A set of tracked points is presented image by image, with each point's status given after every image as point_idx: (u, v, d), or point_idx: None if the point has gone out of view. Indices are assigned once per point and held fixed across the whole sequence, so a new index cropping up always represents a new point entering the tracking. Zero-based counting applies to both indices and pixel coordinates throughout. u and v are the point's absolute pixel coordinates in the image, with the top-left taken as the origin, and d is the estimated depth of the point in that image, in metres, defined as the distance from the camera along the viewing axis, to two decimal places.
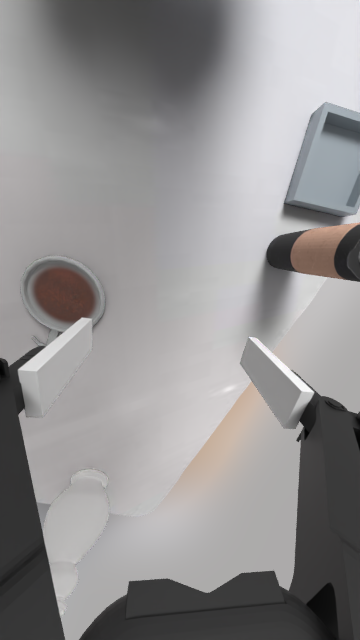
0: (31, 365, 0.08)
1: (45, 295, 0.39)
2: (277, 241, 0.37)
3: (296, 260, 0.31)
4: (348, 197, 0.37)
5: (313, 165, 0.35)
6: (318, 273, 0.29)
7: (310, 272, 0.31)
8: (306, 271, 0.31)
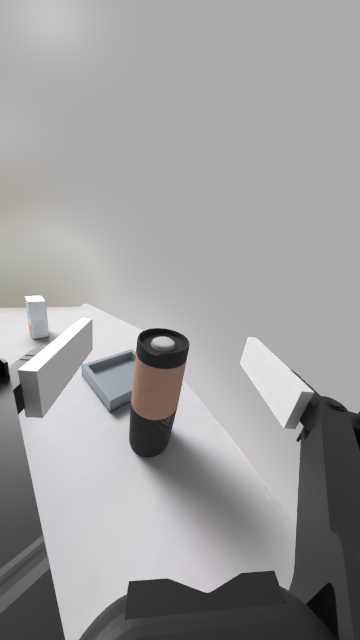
0: (31, 365, 0.08)
1: None
2: None
3: (146, 410, 0.26)
4: None
5: (108, 384, 0.42)
6: (167, 391, 0.25)
7: (165, 401, 0.26)
8: (164, 405, 0.26)
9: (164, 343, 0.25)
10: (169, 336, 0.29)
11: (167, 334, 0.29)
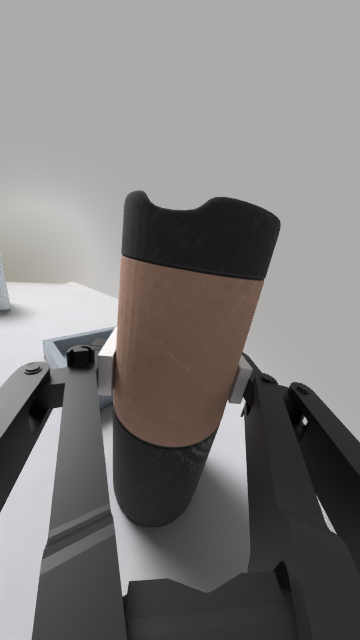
0: (106, 352, 0.10)
1: None
2: None
3: (152, 419, 0.09)
4: None
5: None
6: (216, 363, 0.08)
7: (209, 393, 0.09)
8: (202, 406, 0.09)
9: None
10: None
11: None
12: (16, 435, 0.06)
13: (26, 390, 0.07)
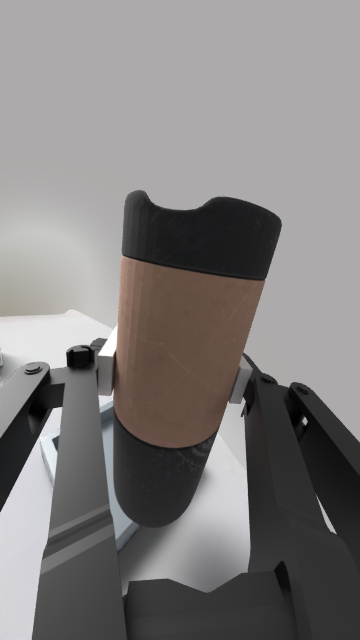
0: (106, 352, 0.10)
1: None
2: (113, 465, 0.14)
3: (152, 420, 0.09)
4: None
5: None
6: (217, 363, 0.08)
7: (209, 393, 0.09)
8: (203, 406, 0.09)
9: None
10: None
11: None
12: (16, 435, 0.06)
13: (26, 390, 0.07)
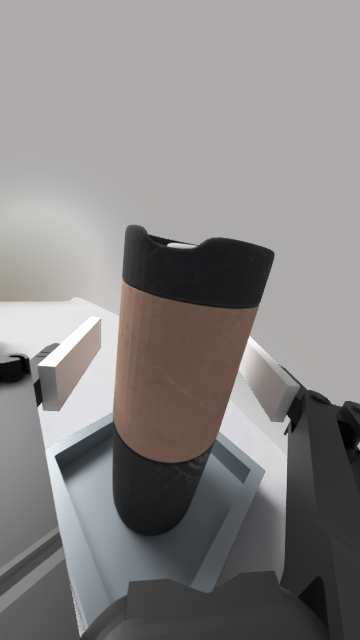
0: (49, 361, 0.09)
1: None
2: (112, 475, 0.14)
3: (150, 437, 0.09)
4: (222, 466, 0.18)
5: (114, 523, 0.13)
6: (212, 385, 0.08)
7: (205, 412, 0.09)
8: (199, 424, 0.09)
9: None
10: None
11: None
12: None
13: None
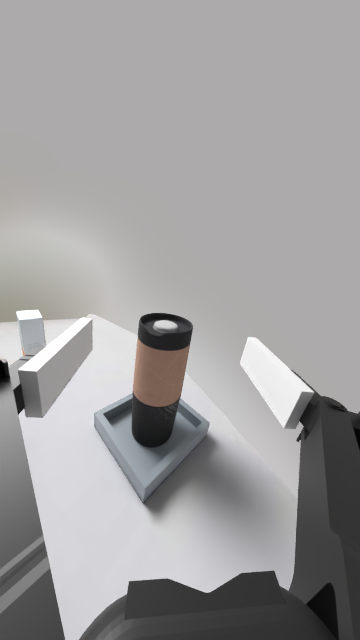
0: (31, 365, 0.08)
1: None
2: (132, 421, 0.29)
3: (149, 395, 0.25)
4: (189, 423, 0.34)
5: (133, 442, 0.29)
6: (170, 375, 0.24)
7: (169, 386, 0.24)
8: (167, 390, 0.25)
9: (166, 326, 0.24)
10: (171, 320, 0.28)
11: (169, 319, 0.28)
12: None
13: None
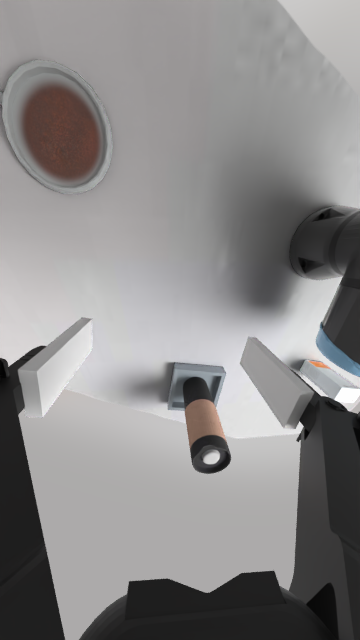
0: (31, 365, 0.08)
1: (57, 104, 0.29)
2: (203, 383, 0.49)
3: (196, 405, 0.41)
4: (178, 401, 0.54)
5: (196, 375, 0.51)
6: (190, 425, 0.39)
7: (189, 418, 0.40)
8: (189, 414, 0.41)
9: (208, 457, 0.34)
10: (215, 465, 0.36)
11: (217, 466, 0.36)
12: None
13: None
